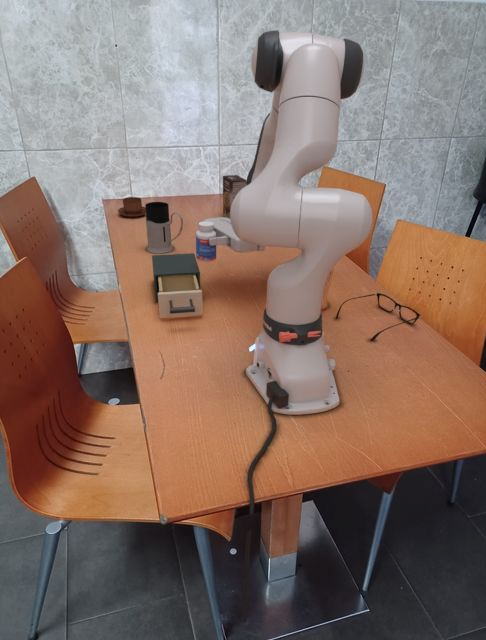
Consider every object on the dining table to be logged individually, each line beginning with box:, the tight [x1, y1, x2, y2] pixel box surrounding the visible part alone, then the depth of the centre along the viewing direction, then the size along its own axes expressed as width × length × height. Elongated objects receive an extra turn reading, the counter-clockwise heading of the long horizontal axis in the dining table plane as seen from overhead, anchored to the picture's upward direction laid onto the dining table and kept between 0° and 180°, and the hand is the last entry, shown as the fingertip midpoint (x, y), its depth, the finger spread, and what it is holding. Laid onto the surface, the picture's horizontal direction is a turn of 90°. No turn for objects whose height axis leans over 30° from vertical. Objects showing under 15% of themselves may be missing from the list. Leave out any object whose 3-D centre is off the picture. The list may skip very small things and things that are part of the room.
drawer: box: [157, 274, 204, 319], centre depth 129 cm, size 19×11×7 cm, turn 11°
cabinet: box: [151, 252, 201, 303], centre depth 141 cm, size 14×12×8 cm
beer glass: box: [321, 266, 335, 310], centre depth 133 cm, size 7×7×15 cm
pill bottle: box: [195, 221, 217, 263], centre depth 132 cm, size 6×5×10 cm
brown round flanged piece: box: [117, 196, 146, 218], centre depth 202 cm, size 12×12×6 cm
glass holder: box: [144, 201, 184, 254], centre depth 166 cm, size 9×14×15 cm, turn 62°
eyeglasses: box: [335, 292, 421, 341], centre depth 128 cm, size 16×16×4 cm
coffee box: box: [222, 174, 247, 219], centre depth 198 cm, size 9×6×16 cm
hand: (203, 238), depth 131 cm, fingers closed on pill bottle, 5 cm apart
